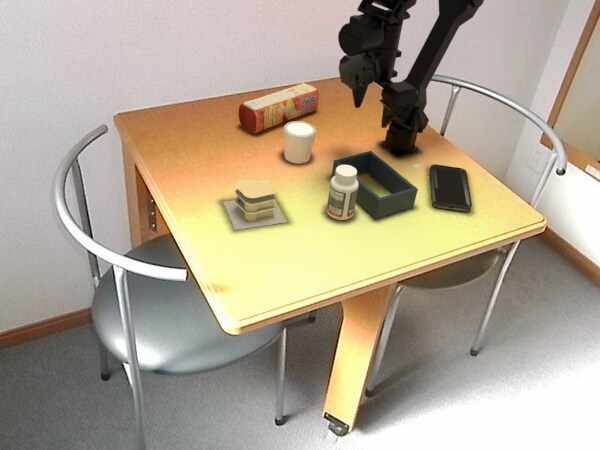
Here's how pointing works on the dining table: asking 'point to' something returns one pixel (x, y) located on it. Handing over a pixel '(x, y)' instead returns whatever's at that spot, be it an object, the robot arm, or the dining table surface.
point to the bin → (384, 174)
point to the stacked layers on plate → (254, 205)
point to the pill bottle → (343, 193)
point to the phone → (450, 188)
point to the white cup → (298, 141)
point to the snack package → (278, 107)
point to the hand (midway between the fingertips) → (370, 117)
